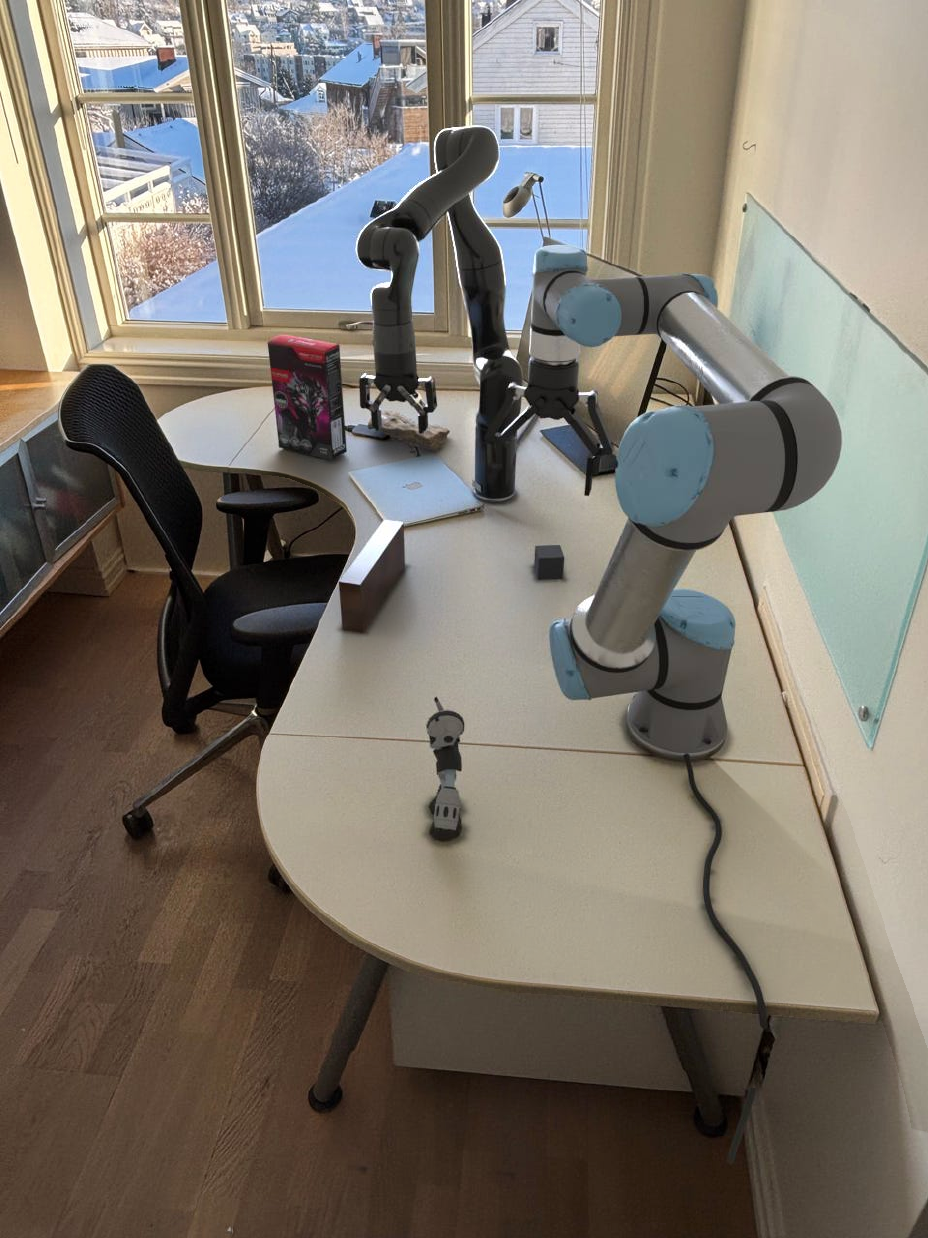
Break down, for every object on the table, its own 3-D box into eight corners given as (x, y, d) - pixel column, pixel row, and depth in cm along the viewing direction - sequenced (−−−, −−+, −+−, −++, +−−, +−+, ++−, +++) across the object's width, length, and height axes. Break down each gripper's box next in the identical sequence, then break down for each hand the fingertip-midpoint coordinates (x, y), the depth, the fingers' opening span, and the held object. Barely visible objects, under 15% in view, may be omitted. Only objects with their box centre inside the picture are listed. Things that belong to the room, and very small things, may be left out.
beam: (363, 632, 165) (360, 584, 159) (342, 629, 165) (338, 581, 160) (405, 566, 184) (403, 522, 178) (386, 563, 185) (384, 519, 179)
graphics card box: (276, 448, 231) (264, 340, 216) (293, 439, 236) (282, 332, 221) (333, 462, 225) (324, 351, 209) (349, 452, 230) (341, 343, 214)
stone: (352, 434, 231) (356, 410, 229) (373, 426, 244) (377, 403, 242) (430, 458, 227) (435, 434, 225) (447, 448, 241) (452, 426, 238)
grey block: (562, 579, 180) (564, 557, 178) (537, 580, 180) (538, 558, 177) (558, 566, 184) (560, 544, 182) (533, 567, 184) (535, 545, 181)
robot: (467, 874, 119) (468, 759, 108) (429, 876, 119) (427, 760, 108) (460, 769, 135) (460, 659, 124) (426, 770, 135) (424, 660, 124)
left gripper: (438, 340, 166) (441, 425, 176) (363, 337, 169) (370, 420, 178) (427, 354, 160) (431, 441, 170) (349, 350, 163) (358, 436, 172)
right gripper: (641, 357, 137) (626, 486, 149) (479, 342, 143) (477, 468, 155) (635, 373, 131) (620, 506, 143) (466, 357, 137) (465, 487, 149)
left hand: (400, 430), depth 174 cm, fingers open, 8 cm apart
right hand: (546, 487), depth 149 cm, fingers open, 13 cm apart
